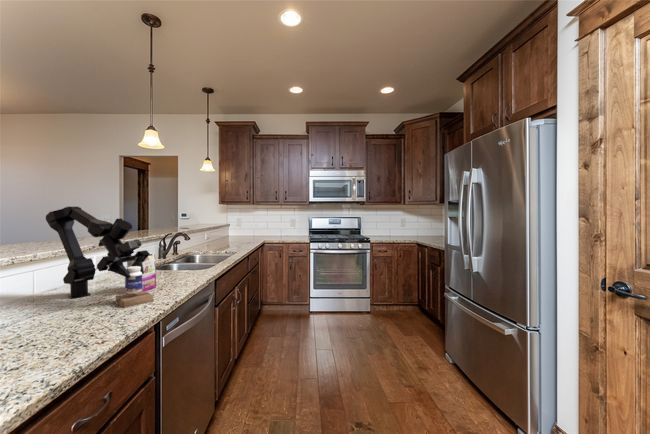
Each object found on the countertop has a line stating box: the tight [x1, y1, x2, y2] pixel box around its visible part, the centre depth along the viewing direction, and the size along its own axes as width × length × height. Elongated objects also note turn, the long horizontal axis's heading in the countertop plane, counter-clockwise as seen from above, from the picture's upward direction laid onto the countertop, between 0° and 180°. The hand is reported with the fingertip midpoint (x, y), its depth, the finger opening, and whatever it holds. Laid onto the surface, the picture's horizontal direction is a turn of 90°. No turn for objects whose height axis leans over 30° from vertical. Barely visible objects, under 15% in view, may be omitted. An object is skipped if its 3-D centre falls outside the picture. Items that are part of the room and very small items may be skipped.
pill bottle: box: [124, 266, 142, 294], centre depth 113 cm, size 6×6×10 cm
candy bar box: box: [126, 253, 157, 292], centre depth 129 cm, size 11×5×16 cm, turn 168°
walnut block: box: [115, 291, 154, 309], centre depth 113 cm, size 10×10×2 cm
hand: (136, 275), depth 112 cm, fingers closed on pill bottle, 6 cm apart
